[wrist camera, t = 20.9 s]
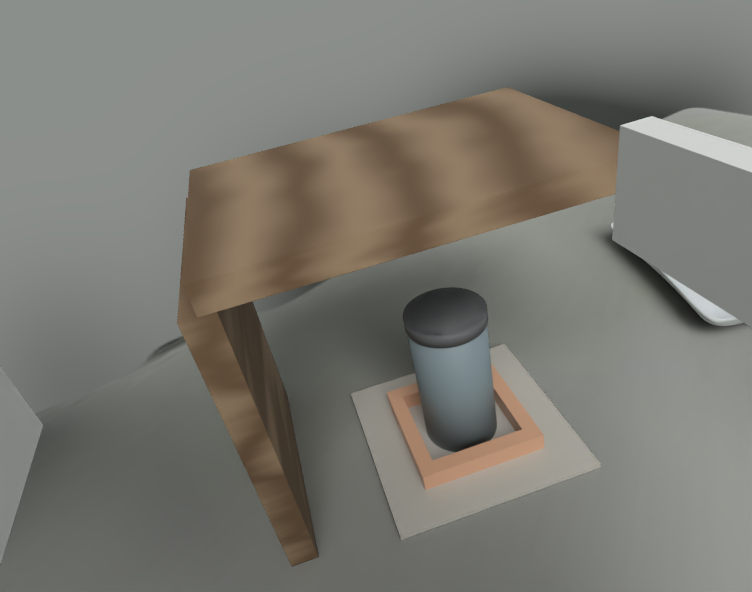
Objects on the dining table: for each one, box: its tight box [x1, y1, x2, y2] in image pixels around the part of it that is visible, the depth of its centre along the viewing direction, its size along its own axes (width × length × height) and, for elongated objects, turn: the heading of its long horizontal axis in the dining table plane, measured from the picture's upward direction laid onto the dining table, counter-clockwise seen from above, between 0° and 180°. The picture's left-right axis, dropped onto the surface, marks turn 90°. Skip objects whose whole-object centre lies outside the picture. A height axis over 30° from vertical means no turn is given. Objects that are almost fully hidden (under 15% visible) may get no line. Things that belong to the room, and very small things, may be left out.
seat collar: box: [351, 344, 601, 540], centre depth 47 cm, size 16×16×2 cm
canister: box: [403, 288, 497, 452], centre depth 44 cm, size 6×6×12 cm
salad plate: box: [610, 222, 743, 326], centre depth 58 cm, size 21×21×3 cm
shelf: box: [177, 87, 620, 566], centre depth 42 cm, size 27×18×24 cm, turn 105°
